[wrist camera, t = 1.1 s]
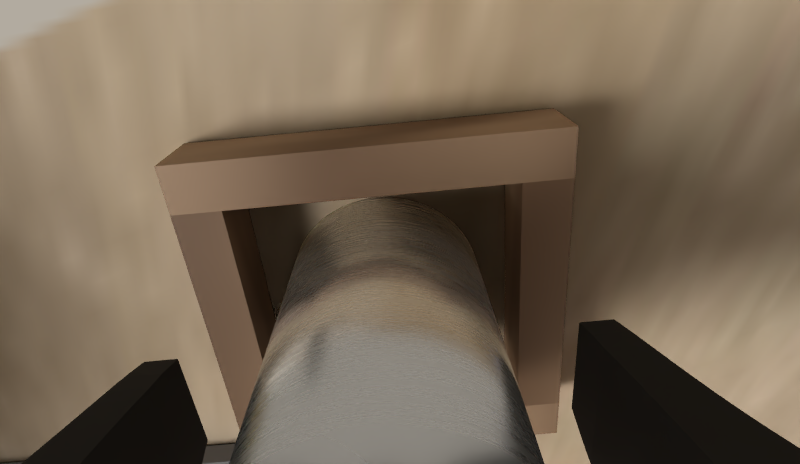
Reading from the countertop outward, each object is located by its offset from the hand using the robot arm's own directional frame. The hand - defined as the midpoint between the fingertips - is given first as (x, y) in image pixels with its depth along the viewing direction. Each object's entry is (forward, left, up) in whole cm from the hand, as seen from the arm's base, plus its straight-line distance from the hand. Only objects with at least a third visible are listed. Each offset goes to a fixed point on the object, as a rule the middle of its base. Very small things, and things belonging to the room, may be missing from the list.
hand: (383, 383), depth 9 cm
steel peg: (0, 0, -4) cm, 4 cm away
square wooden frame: (0, 0, -3) cm, 3 cm away
